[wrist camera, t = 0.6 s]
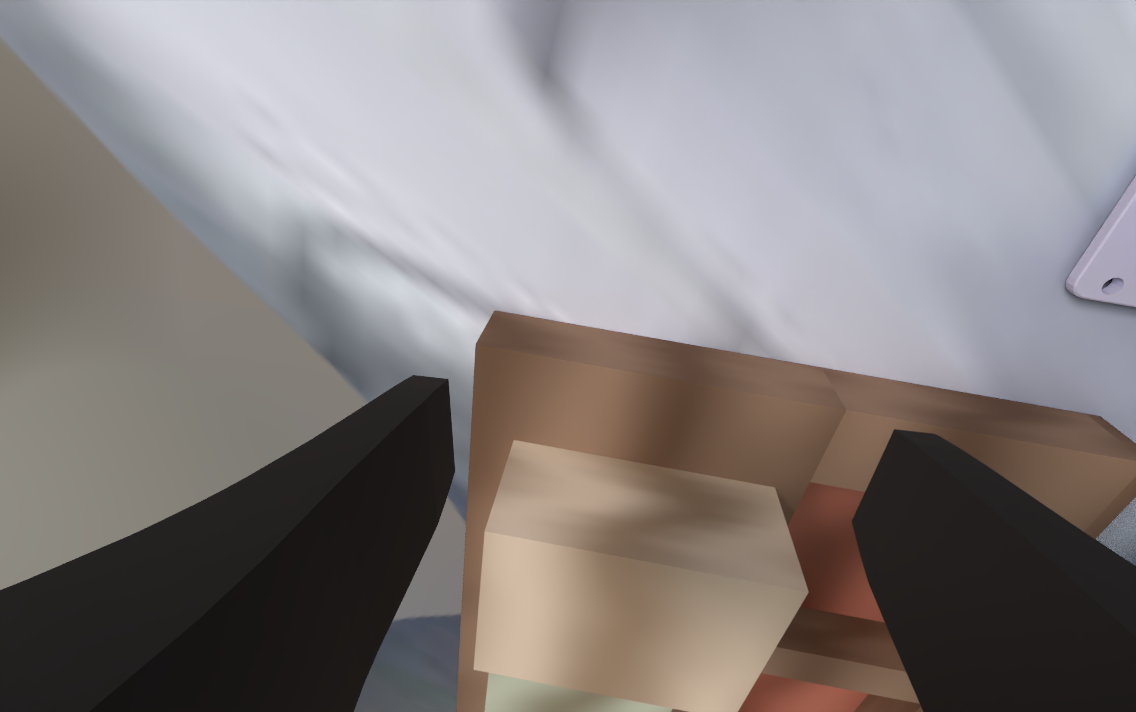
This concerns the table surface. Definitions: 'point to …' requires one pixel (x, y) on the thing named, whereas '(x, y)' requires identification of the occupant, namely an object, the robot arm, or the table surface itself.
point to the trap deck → (759, 481)
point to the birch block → (633, 580)
